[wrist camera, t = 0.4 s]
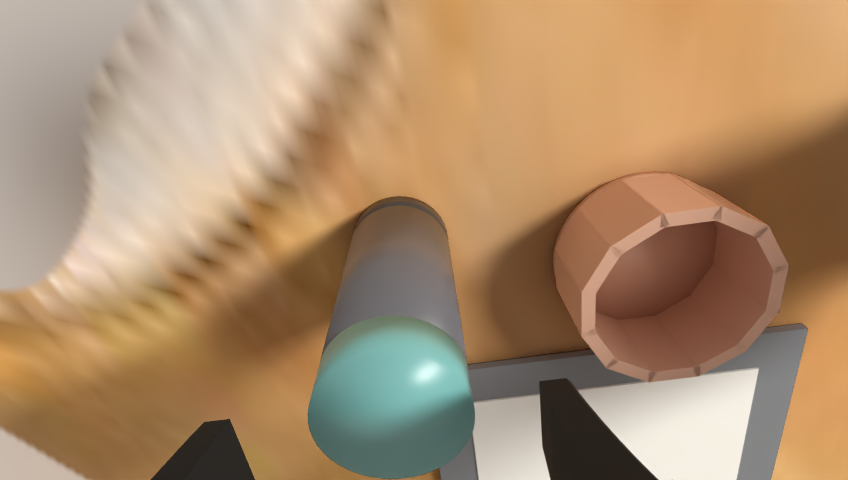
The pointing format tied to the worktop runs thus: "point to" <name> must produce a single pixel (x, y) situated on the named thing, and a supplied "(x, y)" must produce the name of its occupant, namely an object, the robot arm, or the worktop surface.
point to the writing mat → (640, 413)
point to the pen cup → (667, 276)
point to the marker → (394, 350)
